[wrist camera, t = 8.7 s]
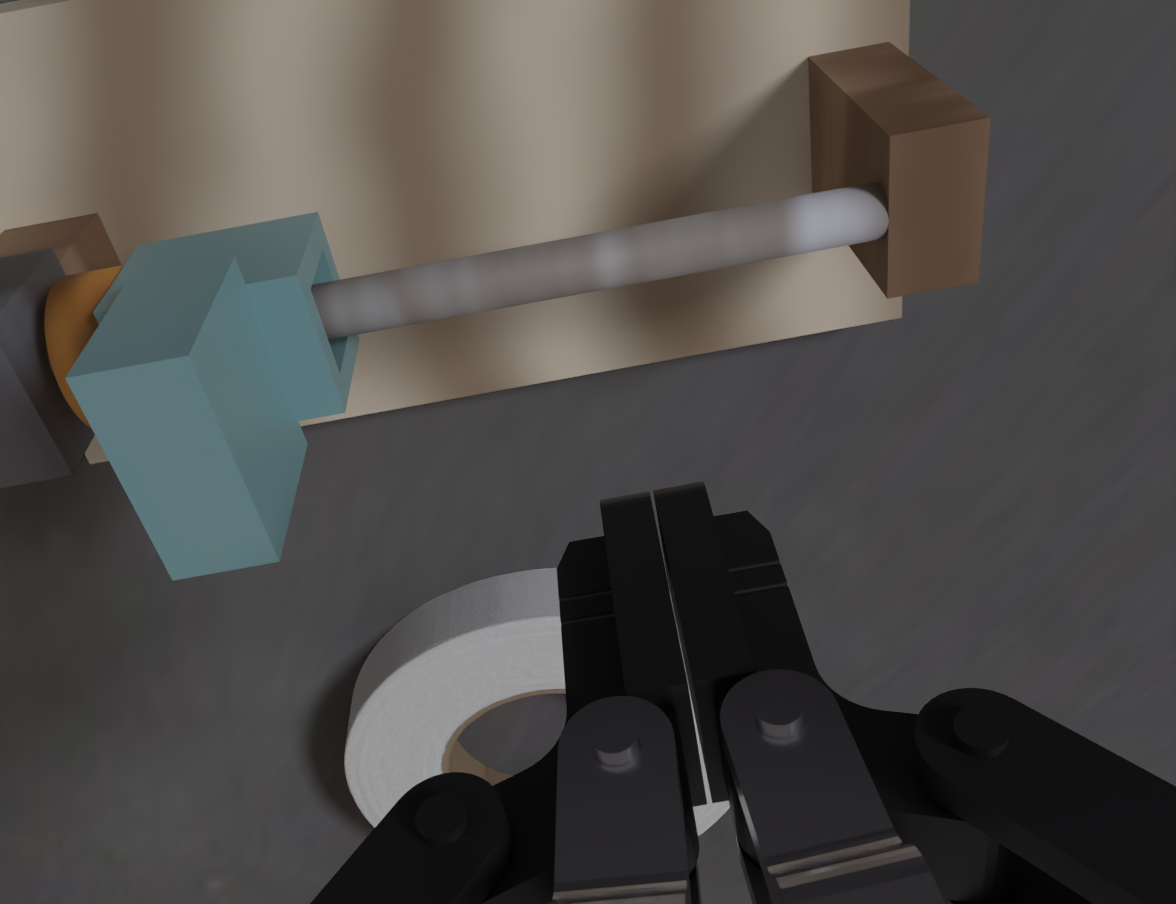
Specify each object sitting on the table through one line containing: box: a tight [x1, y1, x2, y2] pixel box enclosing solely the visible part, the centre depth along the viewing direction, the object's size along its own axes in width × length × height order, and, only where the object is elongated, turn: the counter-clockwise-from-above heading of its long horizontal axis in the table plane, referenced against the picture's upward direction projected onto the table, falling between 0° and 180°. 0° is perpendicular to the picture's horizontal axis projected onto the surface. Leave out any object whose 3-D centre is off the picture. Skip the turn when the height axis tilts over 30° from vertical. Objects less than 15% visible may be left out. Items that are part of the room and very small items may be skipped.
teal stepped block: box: [65, 212, 359, 581], centre depth 20 cm, size 4×4×7 cm
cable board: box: [0, 0, 991, 488], centre depth 24 cm, size 24×12×9 cm, turn 99°
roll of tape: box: [344, 568, 730, 836], centre depth 39 cm, size 16×15×3 cm
